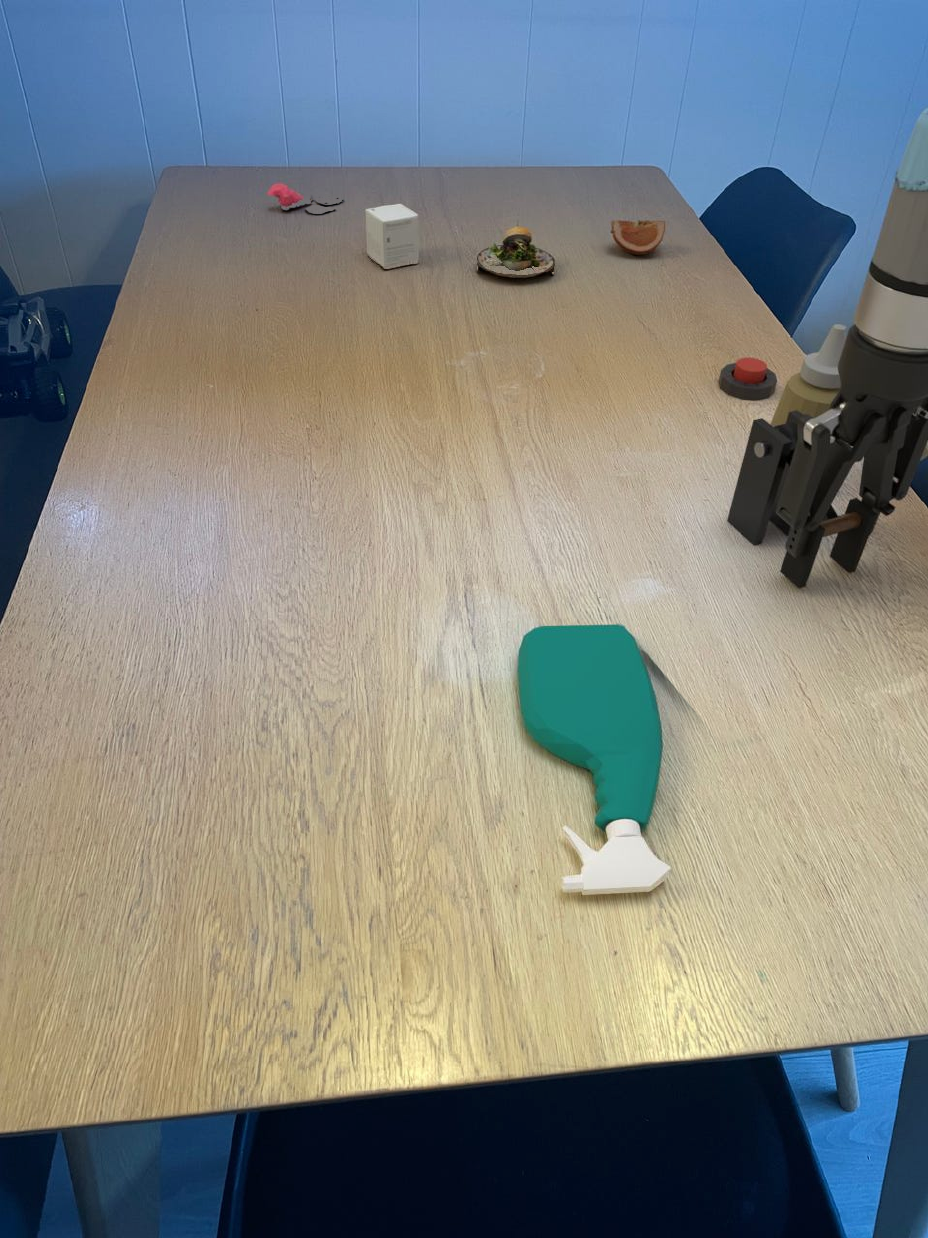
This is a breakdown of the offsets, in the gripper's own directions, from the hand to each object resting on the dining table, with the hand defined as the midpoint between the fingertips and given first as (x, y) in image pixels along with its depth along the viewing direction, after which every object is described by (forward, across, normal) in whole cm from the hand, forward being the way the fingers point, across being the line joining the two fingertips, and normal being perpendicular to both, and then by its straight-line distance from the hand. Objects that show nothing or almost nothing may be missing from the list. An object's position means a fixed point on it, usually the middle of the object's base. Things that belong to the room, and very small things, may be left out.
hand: (817, 571), depth 86 cm
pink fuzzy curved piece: (+2, +14, -115) cm, 116 cm away
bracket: (+2, 0, -8) cm, 8 cm away
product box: (+2, +9, -87) cm, 88 cm away
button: (-1, -16, -32) cm, 36 cm away
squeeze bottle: (+2, -9, -14) cm, 17 cm away
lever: (-6, 0, -5) cm, 8 cm away
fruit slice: (+2, -28, -77) cm, 82 cm away
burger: (+2, -7, -77) cm, 78 cm away
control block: (+2, -16, -30) cm, 34 cm away
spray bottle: (+2, +29, +10) cm, 31 cm away
